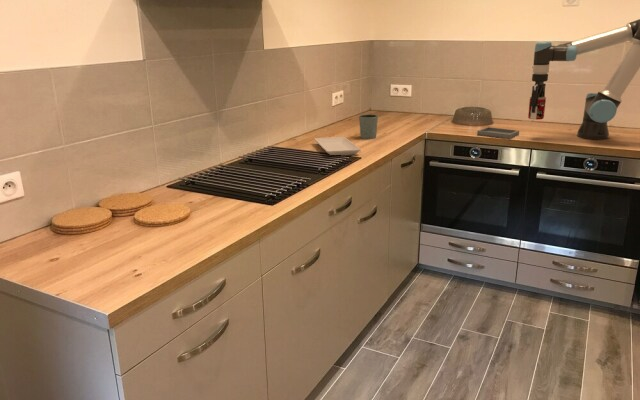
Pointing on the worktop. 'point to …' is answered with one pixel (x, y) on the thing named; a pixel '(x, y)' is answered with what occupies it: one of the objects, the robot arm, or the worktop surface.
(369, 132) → the grey green cup
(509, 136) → the tray
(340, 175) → the worktop surface
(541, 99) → the canned food
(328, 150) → the tray
